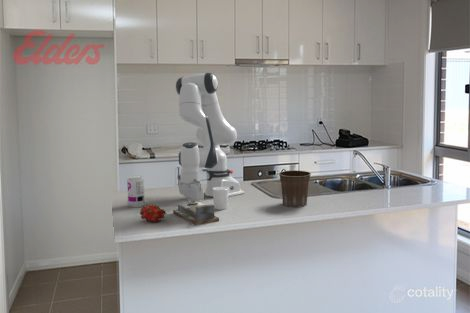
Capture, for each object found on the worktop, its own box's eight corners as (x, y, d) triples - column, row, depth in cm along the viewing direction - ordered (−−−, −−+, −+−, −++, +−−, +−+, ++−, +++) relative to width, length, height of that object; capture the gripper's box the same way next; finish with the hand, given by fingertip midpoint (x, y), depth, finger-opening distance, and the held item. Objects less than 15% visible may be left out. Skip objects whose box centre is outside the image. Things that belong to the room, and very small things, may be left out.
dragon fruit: (138, 224, 213) (164, 227, 213) (136, 217, 205) (164, 221, 206) (141, 207, 217) (167, 210, 217) (140, 200, 209) (167, 203, 210)
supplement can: (128, 208, 236) (127, 178, 234) (128, 204, 244) (126, 176, 242) (145, 207, 238) (144, 177, 236) (144, 203, 246) (142, 175, 244)
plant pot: (299, 210, 228) (299, 177, 226) (272, 205, 239) (272, 173, 236) (316, 203, 240) (317, 172, 238) (290, 199, 251) (290, 169, 249)
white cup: (220, 205, 240) (220, 186, 238) (232, 207, 235) (231, 188, 233) (209, 208, 234) (209, 188, 232) (221, 210, 229) (221, 190, 227)
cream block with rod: (199, 212, 219) (199, 201, 219) (205, 215, 214) (205, 203, 213) (184, 214, 216) (184, 203, 215) (190, 217, 210) (190, 205, 210)
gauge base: (195, 209, 231) (195, 194, 230) (219, 221, 211) (218, 204, 210) (173, 213, 225) (172, 197, 224) (194, 225, 205) (194, 208, 204)
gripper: (206, 180, 212) (207, 210, 214) (187, 173, 230) (188, 201, 232) (194, 182, 209) (195, 212, 211) (175, 175, 226) (176, 203, 228)
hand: (191, 206), depth 221 cm, fingers closed
